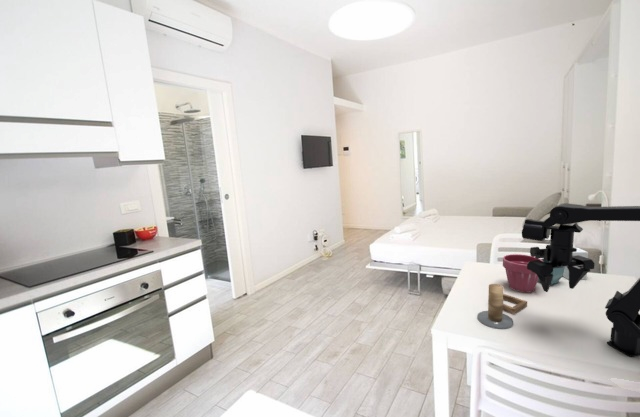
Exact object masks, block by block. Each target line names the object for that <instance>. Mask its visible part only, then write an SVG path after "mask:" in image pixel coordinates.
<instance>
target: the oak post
mask: <svg viewBox="0 0 640 417" xmlns="http://www.w3.org/2000/svg"><path fill="white" fill-rule="evenodd" d="M503 294H504V286H503V285H501V284H497V283H490V284H489V285H488V297H487V298H488V300H487V301H488V302H487V304H488V306H487V311H488V319H489V320H491V321H494V322H501V321H502V318H503V314H504V311H503V304H504V300H503Z"/></svg>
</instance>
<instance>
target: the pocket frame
mask: <svg viewBox="0 0 640 417" xmlns="http://www.w3.org/2000/svg"><path fill="white" fill-rule="evenodd" d="M503 301H506V302H509V303H512V304H514V305H513V306H511V305H507V304H505V303H503V312H506V313H509V314H511V315H516V314H517V313H519V312H520V311H523V309H525V308H527V307H528V301H527V300H524V299H521V298H518V297H515V296H512V295H509V294H505V293H503Z"/></svg>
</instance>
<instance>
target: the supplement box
mask: <svg viewBox="0 0 640 417" xmlns="http://www.w3.org/2000/svg"><path fill="white" fill-rule="evenodd" d="M576 248H577V251H576V252H573V255H572V256H577V255H579V256H582V257H585V258H589V251H586V250H584V249H582V248H579V247H576ZM587 275H588V273H587V274H586V275H585V276H584V277H583V278H582V279H581V280H580V281H582V280H583V281H584V280H585V281H586V280H587V278H588V277H587ZM562 277H563V278H565V279H566V280H568V281H569V270H568V268H567V267H565V268H564V273H563V276H562Z"/></svg>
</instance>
